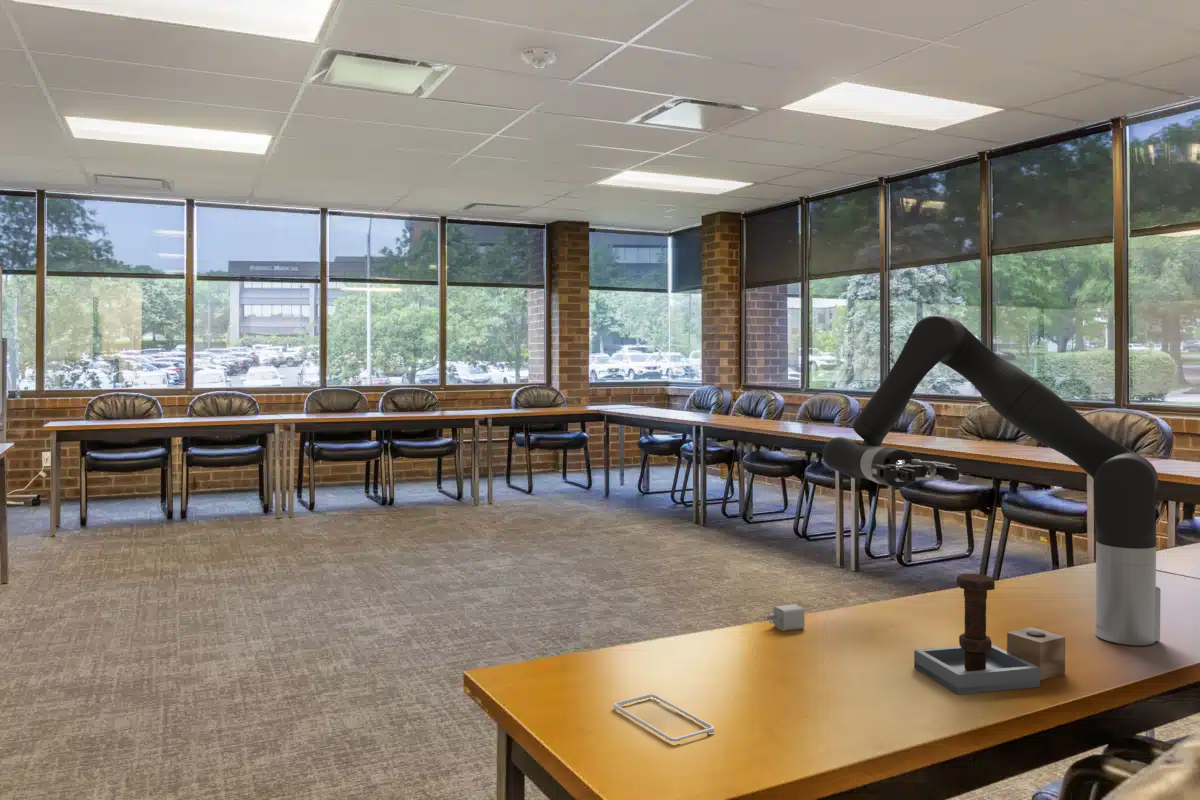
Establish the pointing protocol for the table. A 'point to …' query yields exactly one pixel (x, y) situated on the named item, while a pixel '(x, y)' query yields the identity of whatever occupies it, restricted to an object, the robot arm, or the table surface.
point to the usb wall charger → (787, 617)
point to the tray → (998, 675)
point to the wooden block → (1039, 650)
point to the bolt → (975, 620)
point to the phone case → (617, 706)
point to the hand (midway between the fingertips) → (935, 475)
